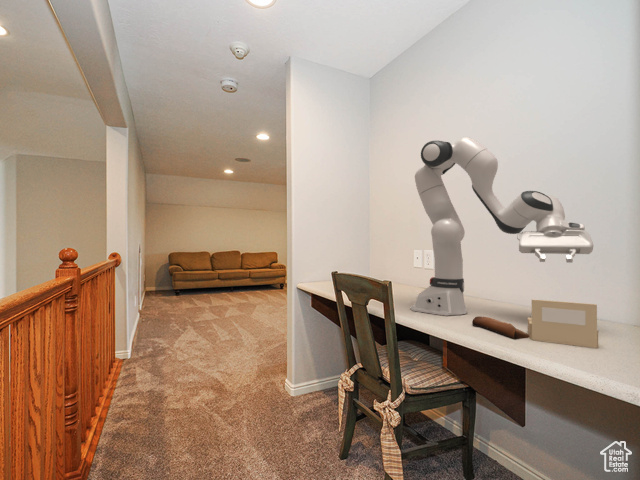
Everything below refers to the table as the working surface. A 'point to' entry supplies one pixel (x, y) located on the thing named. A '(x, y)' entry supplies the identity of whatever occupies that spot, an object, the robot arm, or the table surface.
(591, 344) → the flap
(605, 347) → the table surface
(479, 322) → the brown tapered cylinder
